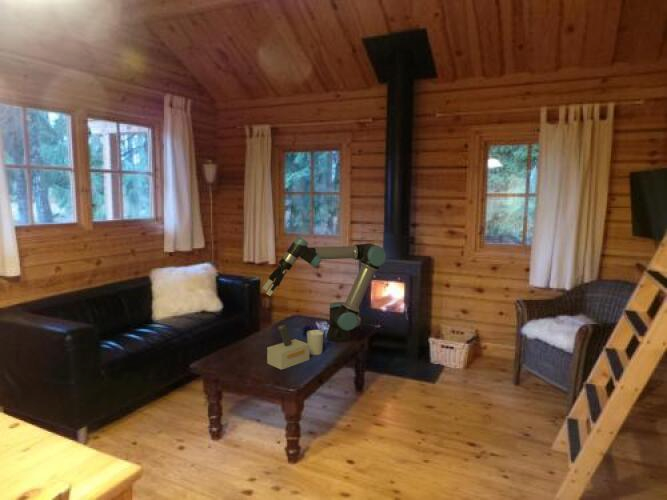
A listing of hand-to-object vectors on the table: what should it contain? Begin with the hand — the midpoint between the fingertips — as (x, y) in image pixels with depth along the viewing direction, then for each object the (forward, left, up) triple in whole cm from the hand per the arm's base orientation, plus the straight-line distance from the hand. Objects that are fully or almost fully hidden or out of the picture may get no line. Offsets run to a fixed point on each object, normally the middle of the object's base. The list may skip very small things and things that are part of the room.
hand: (266, 292), depth 262 cm
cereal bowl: (-68, +1, -36) cm, 77 cm away
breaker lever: (0, +19, -27) cm, 33 cm away
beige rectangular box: (0, +19, -36) cm, 41 cm away
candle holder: (-20, +19, -36) cm, 46 cm away
